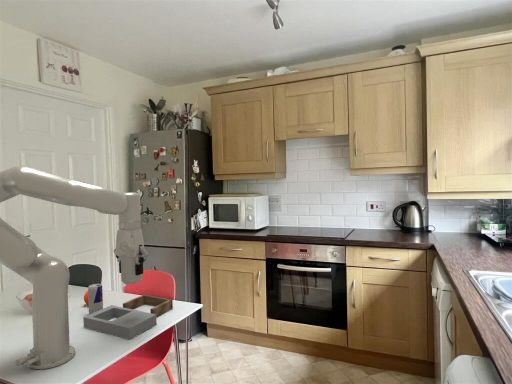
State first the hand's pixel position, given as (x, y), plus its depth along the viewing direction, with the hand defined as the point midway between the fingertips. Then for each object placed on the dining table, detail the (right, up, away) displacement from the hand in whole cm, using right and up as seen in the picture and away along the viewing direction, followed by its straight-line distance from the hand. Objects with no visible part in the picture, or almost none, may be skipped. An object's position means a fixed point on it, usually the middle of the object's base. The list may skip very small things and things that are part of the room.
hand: (131, 273), depth 122 cm
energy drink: (-21, -21, +16) cm, 34 cm away
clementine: (-28, -21, +27) cm, 44 cm away
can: (0, -4, 0) cm, 4 cm away
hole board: (-5, -21, +3) cm, 22 cm away
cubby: (0, -21, +18) cm, 27 cm away
